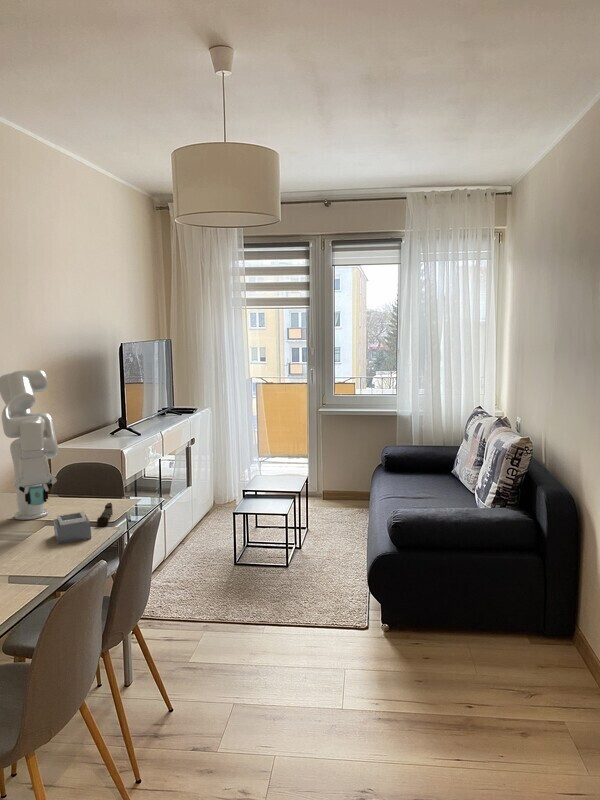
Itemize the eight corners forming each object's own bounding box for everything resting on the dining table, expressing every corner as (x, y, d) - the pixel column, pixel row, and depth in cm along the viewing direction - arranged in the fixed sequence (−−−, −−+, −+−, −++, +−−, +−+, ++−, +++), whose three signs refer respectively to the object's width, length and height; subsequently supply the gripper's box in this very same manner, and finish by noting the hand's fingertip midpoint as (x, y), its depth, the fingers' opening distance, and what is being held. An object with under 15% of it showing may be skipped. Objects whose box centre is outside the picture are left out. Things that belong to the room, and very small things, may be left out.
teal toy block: (29, 502, 237) (27, 486, 236) (43, 500, 239) (42, 484, 238) (30, 507, 231) (29, 491, 230) (45, 505, 233) (44, 489, 232)
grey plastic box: (54, 535, 232) (53, 515, 231) (86, 530, 237) (85, 510, 236) (58, 544, 222) (56, 523, 222) (91, 538, 227) (89, 518, 226)
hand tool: (108, 526, 241) (107, 514, 241) (97, 527, 241) (96, 515, 241) (118, 512, 260) (117, 501, 260) (107, 512, 260) (107, 501, 259)
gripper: (57, 449, 240) (60, 496, 243) (6, 454, 232) (11, 503, 235) (59, 453, 233) (62, 501, 236) (7, 458, 226) (12, 508, 228)
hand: (37, 501), depth 235 cm, fingers closed on teal toy block, 5 cm apart
